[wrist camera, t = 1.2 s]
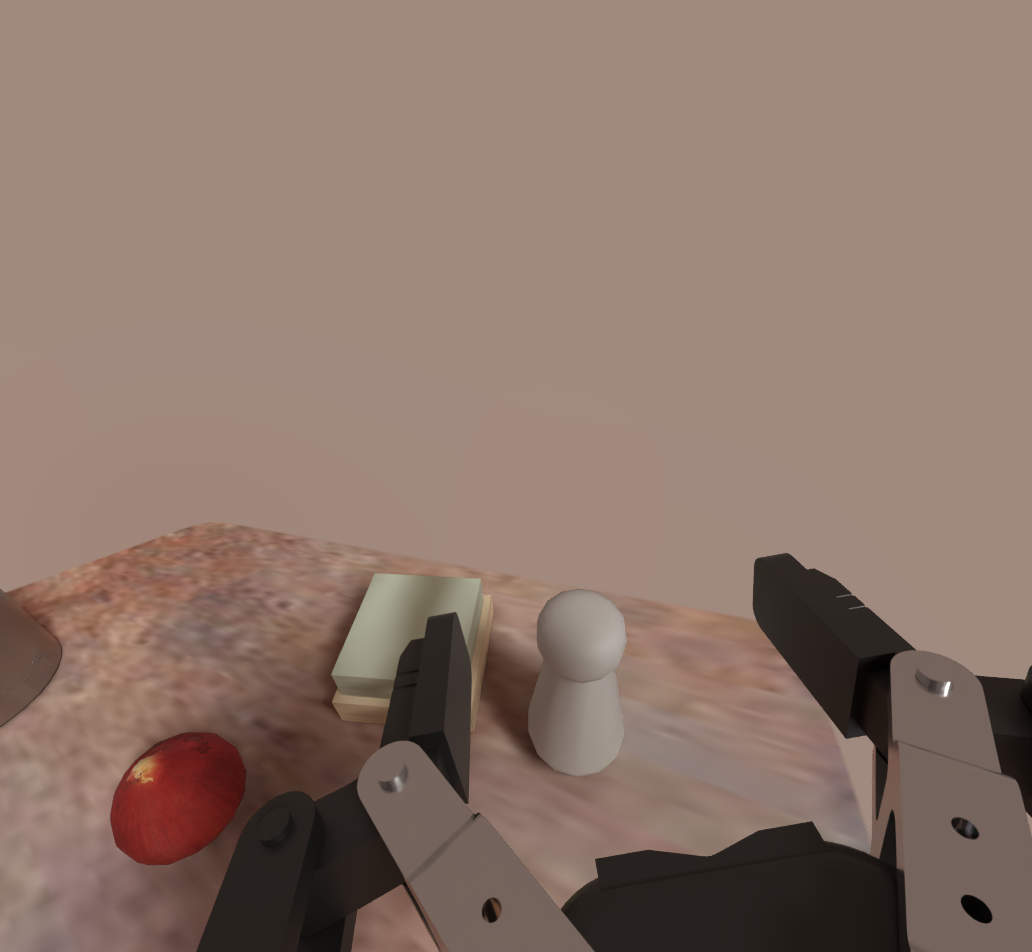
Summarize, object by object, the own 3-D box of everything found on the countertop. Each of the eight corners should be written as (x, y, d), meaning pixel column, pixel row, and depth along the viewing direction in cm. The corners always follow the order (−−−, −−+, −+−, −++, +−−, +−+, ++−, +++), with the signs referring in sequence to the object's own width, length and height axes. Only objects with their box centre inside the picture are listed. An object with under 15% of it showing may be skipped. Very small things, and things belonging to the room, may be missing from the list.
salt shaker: (531, 692, 33) (523, 567, 25) (615, 695, 32) (635, 568, 24) (527, 789, 28) (516, 672, 20) (625, 794, 28) (654, 677, 20)
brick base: (342, 720, 32) (319, 682, 29) (385, 608, 39) (370, 567, 36) (474, 732, 31) (465, 693, 28) (493, 615, 38) (488, 573, 35)
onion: (166, 787, 29) (87, 727, 24) (266, 748, 31) (211, 684, 26) (147, 903, 25) (46, 859, 20) (264, 850, 26) (198, 798, 21)
